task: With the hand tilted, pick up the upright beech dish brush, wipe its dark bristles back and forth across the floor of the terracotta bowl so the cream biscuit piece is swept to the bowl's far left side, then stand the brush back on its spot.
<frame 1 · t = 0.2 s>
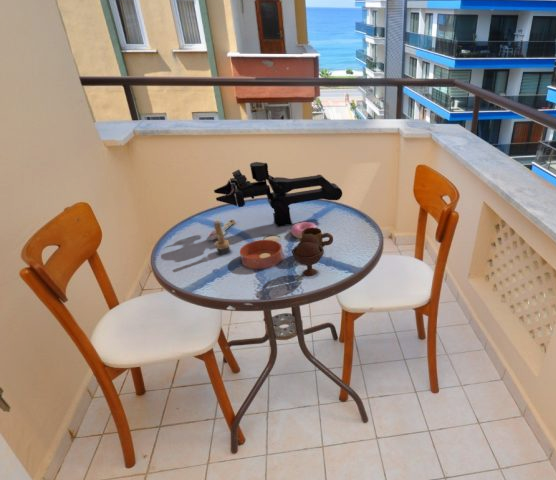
hand: (215, 195, 166), 17 cm above the table, tool horizontal, fingers open, 9 cm apart
mug: (319, 254, 161), on the table
terracotta bowl: (262, 259, 157), on the table
doughnut: (305, 234, 175), on the table
ice cream bowl: (310, 274, 149), on the table
biscuit piece: (265, 258, 157), resting on terracotta bowl
paintbrush: (222, 233, 176), on the table
dish brush: (224, 253, 161), on the table
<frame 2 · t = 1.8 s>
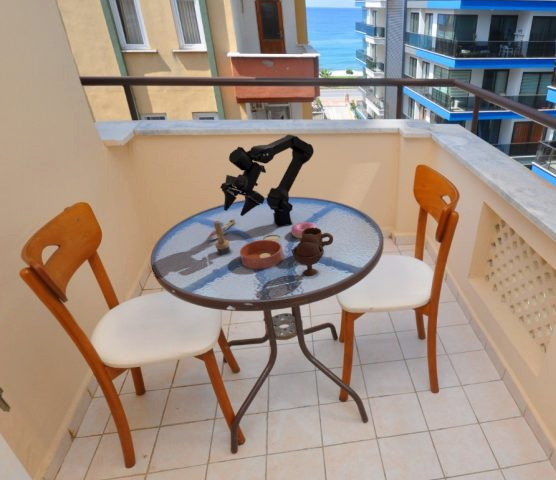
hand: (233, 212, 159), 14 cm above the table, tool tilted 45°, fingers open, 9 cm apart
nothing on the table moved.
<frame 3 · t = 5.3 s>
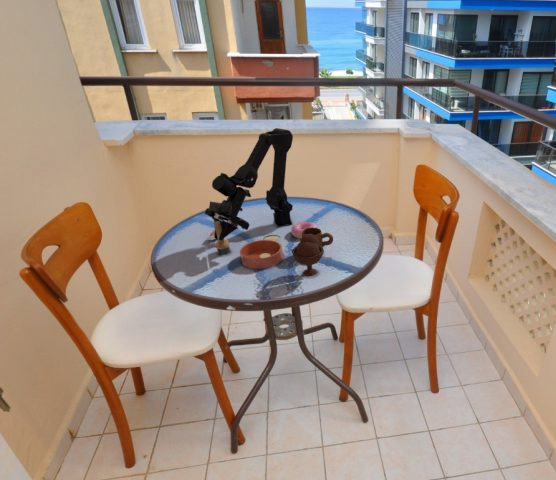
hand: (217, 239, 156), 7 cm above the table, tool tilted 45°, fingers closed on dish brush, 2 cm apart
dish brush: (224, 253, 161), on the table, touching gripper
everything else where it was.
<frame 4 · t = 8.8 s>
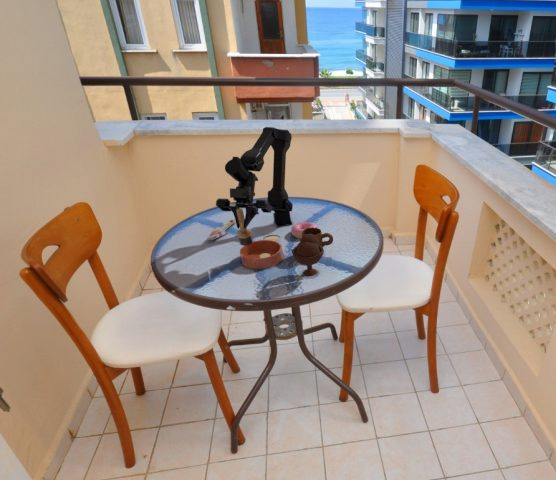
hand: (241, 228, 148), 14 cm above the table, tool tilted 45°, fingers closed on dish brush, 2 cm apart
dish brush: (246, 242, 153), point 7 cm above the table, touching gripper
everything else where it was.
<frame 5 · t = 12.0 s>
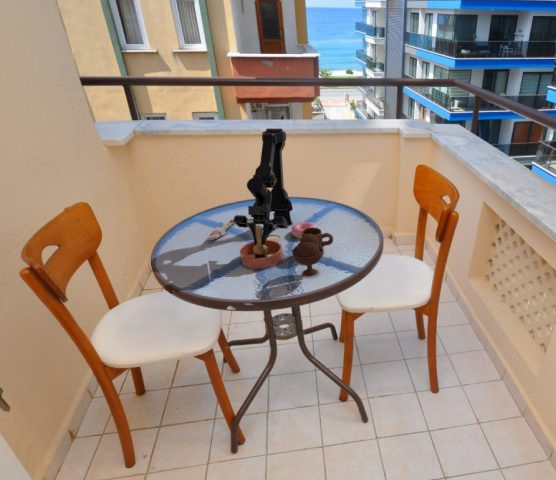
hand: (258, 244, 152), 7 cm above the table, tool tilted 45°, fingers closed on dish brush, 2 cm apart
biscuit piece: (272, 258, 156), resting on terracotta bowl, touching dish brush
dish brush: (261, 258, 157), point 1 cm above the table, tilted 6°, touching biscuit piece, gripper
everything else where it was.
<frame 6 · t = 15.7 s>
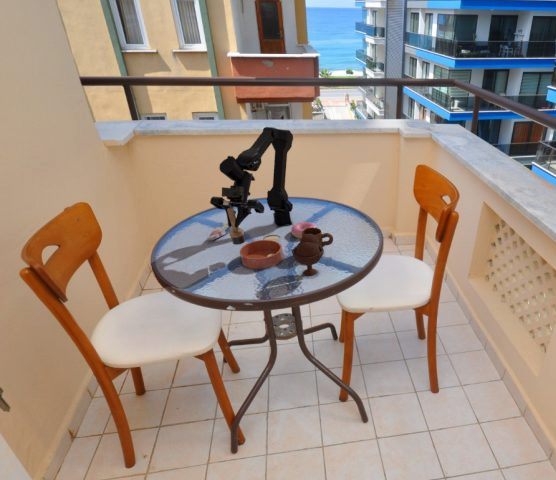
hand: (232, 227, 149), 13 cm above the table, tool tilted 45°, fingers closed on dish brush, 2 cm apart
biscuit piece: (272, 258, 156), resting on terracotta bowl
dish brush: (238, 241, 154), point 7 cm above the table, touching gripper
everything else where it was.
when the fingers open (7 cm above the table, at t = 19.1 s): dish brush stays where it is, on the table.
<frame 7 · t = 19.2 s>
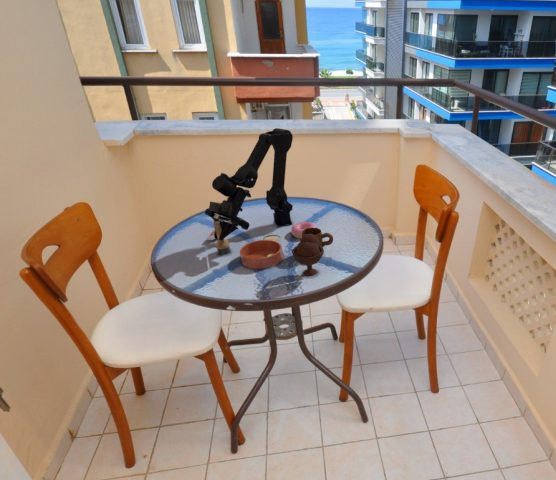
hand: (217, 239, 156), 7 cm above the table, tool tilted 45°
dish brush: (224, 253, 161), on the table
everything else where it was.
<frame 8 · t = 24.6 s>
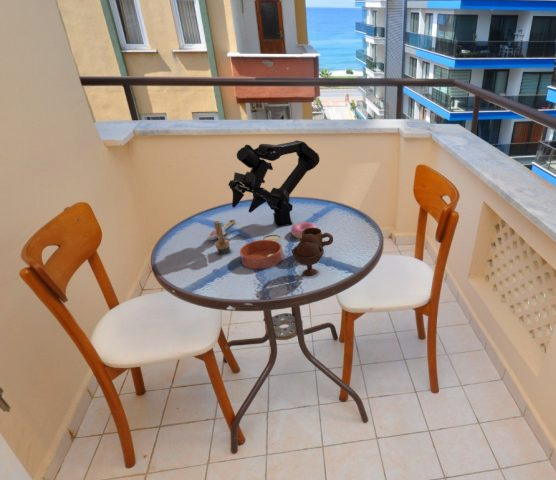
hand: (241, 209, 162), 14 cm above the table, tool tilted 45°, fingers open, 9 cm apart
nothing on the table moved.
at the end: biscuit piece 1.2 cm from the target spot in the terracotta bowl, point 1.1 cm above the terracotta bowl's base; dish brush tilted 0°; dish brush 0.1 cm from the target spot, on the table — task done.
